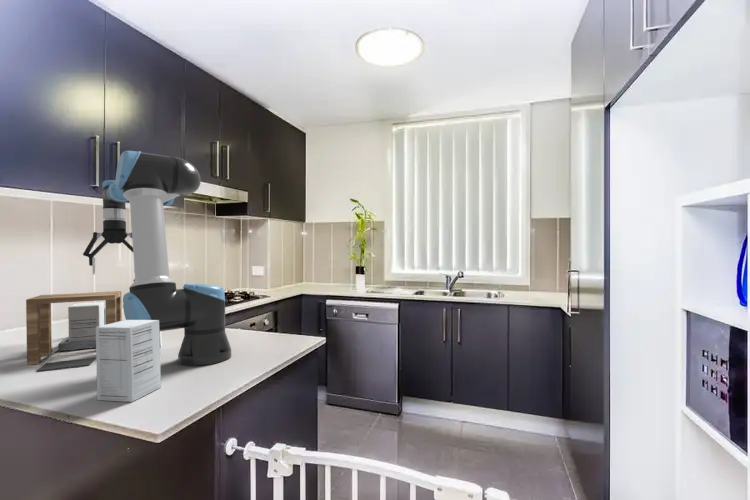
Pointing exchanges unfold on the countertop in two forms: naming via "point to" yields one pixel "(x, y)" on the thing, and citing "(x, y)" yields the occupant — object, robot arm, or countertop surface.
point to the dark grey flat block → (66, 364)
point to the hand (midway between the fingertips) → (115, 273)
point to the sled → (78, 342)
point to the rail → (48, 356)
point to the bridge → (41, 318)
